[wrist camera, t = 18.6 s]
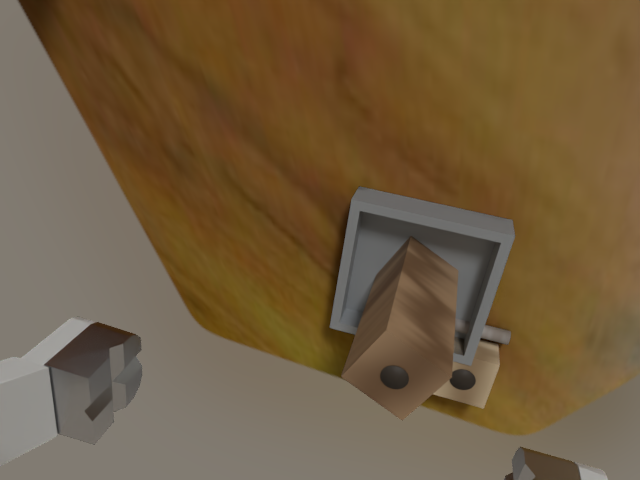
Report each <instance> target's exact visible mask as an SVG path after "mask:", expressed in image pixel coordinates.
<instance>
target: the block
mask: <svg viewBox="0 0 640 480" xmlns="http://www.w3.org/2000/svg"><path fill="white" fill-rule="evenodd" d="M457 286H458V270H457V269H456V268H454V267H453V266H452V265H450V264H449V263H448V262H446V261H445V260H444V259H442V258H441V257H439V256H438V255H437V254H435V253H434V252H433V251H431V250H430V249H429V248H427V247H426V246H425V245H423V244H422V243H420V242H419V241H418V240H416V239H415V238H414V237H412V236H410V237H409V238H408V239H407V241H406V242H405V243H404V244H403V245H402V246H401V247H400V249H399V250H398V251H397V252H396V253H395V254H394V255H393V256H392V258H391V259H390V260H389V261H388V262H387V263H386V264H385V265H384V267H383V268H382V269H381V270H380V271H379V272H378V273H377V275H376V277H375V280H374V283H373V286H372V288H371V291H370V294H369V297H368V300H367V303H366V306H365V309H364V311H363V314H362V317H361V320H360V323H359V326H358V329H357V332H356V334H355V337H354V340H353V343H352V346H351V349H350V352H349V355H348V358H347V360H346V363H345V366H344V369H343V372H342V375H341V377H342V378H344V379H345V380H346V381H348V382H349V383H351V384H352V385H353V386H355V387H356V388H358V389H359V390H360V391H362V392H363V393H365V394H366V395H367V396H369V397H370V398H372V399H373V400H374V401H376V402H377V403H379V404H380V405H381V406H383V407H384V408H385V409H387V410H388V411H390V412H391V413H393V414H394V415H395V416H397V417H398V418H399V419H401V420H403V419H404V418H406V417H407V416H408V415H409V414H410V413H411V412H413V411H414V410H415V409H416V408H417V407H418V406H420V405H421V404H422V403H423V402H424V401H425V400H427V399H428V398H429V397H430V396H431V395H432V394H433V393H435V392H436V391H437V390H438V389H439V388H440V387H442V386H443V385H444V384H445V383H446V382H447V381H449V380H450V379H451V378H452V368H453V352H454V335H455V319H456V302H457Z"/></svg>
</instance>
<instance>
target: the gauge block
mask: <svg viewBox="0 0 640 480" xmlns="http://www.w3.org/2000/svg"><path fill="white" fill-rule="evenodd" d="M469 326H470V322H468V321H464V320H460V319H455V331H456V332H460V333H464V334H467V333H468V331H469ZM510 337H511V331H507V330H504V329H500V328H496V327H492V326H488V325H485V326H484V329H483V332H482V335H481V338H483V339H487V340H491V341H495V342H499V343H503V344H506V345H508V344H509V341H510ZM455 339H456V340H457V341H455V340H454V343H455V342H456V343H457V345H456V346H457V348H458V349H460V348H459V347H458V346H459V345H460V344H459V345H458V342H459V343H460V342H461V341H462V339H460V338H459V339H460V341H459V339H458V337H456V338H455ZM463 340H464V339H463ZM464 341H465V340H464ZM456 343H455V344H456ZM462 343H463V344H464V342H463V341H462V342H461V344H462ZM456 346H455V345H454V353H455V352H456V353H457V350H458V349H457V348H456ZM460 346H461V345H460ZM462 346H463V345H462ZM462 346H461V348H462ZM455 348H456V349H455ZM460 350H461V349H460ZM460 350H459V351H460ZM462 350H464V349H463V348H462ZM459 351H458V352H459ZM460 353H461V351H460ZM457 354H459V353H457ZM463 354H464V353H463ZM463 354H460V355H463ZM499 366H500V361H499V345H498V344H496V343H492V342H488V341H484V340H480V341H479V344H478V347H477V350H476V353H475V356H474V359H473V362H472V365H471V366H469V365H465V364H461V363H458V362H454V361H453V368H452V378H451V379H450V380H449V381H447V382H446V383H445V384H444V385H443V386H442V387H440V388H439V389H438V390H437V391H436V392H435V393H433V394H434V395H437V396H441V397H444V398H448V399H451V400H455V401H459V402H462V403H466V404H469V405H473V406H476V407H480V408H483V409H484V406H485V404H486V401H487V398H488V396H489V393H490V390H491V388H492V385H493V382H494V379H495V377H496V374H497V371H498V369H499Z"/></svg>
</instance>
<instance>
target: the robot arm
mask: <svg viewBox="0 0 640 480" xmlns="http://www.w3.org/2000/svg"><path fill="white" fill-rule="evenodd" d="M140 351H141V338H140V337H139V336H138V335H136V334H133V333H130V332H127V331H124V330H121V329H118V328H114V327H111V326H108V325H105V324H102V323H99V322H94V321H91V320H88V319H85V318H82V317H79V316H77V317H73V318H70V319H69V320H68V321H66V322H65V323H64V324H63V325H62V326H60V327H59V328H58V329H57V330H55V331H54V332H53V333H52V334H50V335H49V336H48V337H47V338H45V339H44V340H43V341H42V342H40V343H39V344H38V345H37V346H35V347H34V348H33V349H32V350H30V351H29V352H28V353H27V354H26V355H24V356H23V357H22V358H17V357H11V358H8V359H5V360H1V361H0V466H2V465H3V464H6V463H7V462H9V461H11V460H13V459H15V458H17V457H19V456H21V455H23V454H24V453H26V452H28V451H30V450H32V449H34V448H36V447H38V446H40V445H42V444H44V443H45V442H47V441H49V440H51V439H53V438H55V437H57V436H58V434H60V435H64V436H67V437H70V438H74V439H77V440H80V441H83V442H87V443H90V444H93V445H95V443H96V442H97V441H98V440H99V439H100V438H101V436H102V435H103V434H104V433H105V432H106V430H107V429H108V428H109V427H110V426H111V424H112V423H113V422H114V412H116V411H118V410H120V409H123V408H125V407H126V406H127V405H128V404H129V403H130V402H131V400H132V399H133V398H134V396H135V394H136V392H137V390H138V388H139V386H140V382H141V377H142V365H141V363H140V362H139V360H138V359H137V357H136V355H137V354H138V353H139V352H140ZM512 466H513V473H511V474H508V475H506V476H505V478H504V480H608V479H607V476H606V474H605V472H604V471H603V470H602V469H598V468H595V467H591V466H588V465H584V464H581V463H577V462H572V461H569V460H565V459H562V458H558V457H555V456H551V455H548V454H544V453H541V452H537V451H534V450H530V449H526V448H523V447H520V448H518V450H517V451H516V453H515V455H514V457H513V459H512Z"/></svg>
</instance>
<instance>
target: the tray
mask: <svg viewBox="0 0 640 480" xmlns="http://www.w3.org/2000/svg"><path fill="white" fill-rule="evenodd" d="M410 236H412V237H414V238H415V239H416V240H418V241H419V242H420V243H422V244H423V245H425V246H426V247H427V248H429V249H430V250H431V251H433V252H434V253H435V254H437V255H438V256H439V257H441V258H442V259H444V260H445V261H446V262H448V263H449V264H450V265H452V266H453V267H454V268H456V269H457V270H458V286H457V302H456V319H460V320H464V321H468V322H470V326H469V331H468V333H467V334H464V333H460V332H456V331H455V335H454V340H455V341H457V340H456V339H455V338H456V337H458V339H459V338H460V339H462V341H463V342H464V344H463V343H462V344H461V342H462V341H461V342H460V343H459V342H458V345H459V344H460V345H461V346H462V345H463V346H462V348H463V349H464V350H462V348H461V346H460V345H459V346H458V347H459V348H460V349H461V350H460V349H458V348H457V346H456V345H457V343H456V342H455V343H456V344H455V343H454V345H455V346H456V348H457V349H458V350H457V353H459V354H457V353H456V352H455V353H454V352H453V361H454V362H458V363H461V364H465V365H469V366H471V365H472V362H473V359H474V356H475V353H476V350H477V347H478V344H479V341H480V338H481V335H482V332H483V329H484V326H485V323H486V320H487V317H488V315H489V312H490V309H491V306H492V303H493V300H494V297H495V294H496V291H497V288H498V285H499V282H500V279H501V276H502V273H503V270H504V267H505V264H506V261H507V258H508V255H509V253H510V250H511V247H512V244H513V241H514V238H515V232H514V226H513V220H510V219H505V218H501V217H496V216H492V215H487V214H482V213H478V212H473V211H469V210H464V209H460V208H455V207H451V206H446V205H441V204H437V203H432V202H428V201H423V200H419V199H414V198H410V197H405V196H401V195H396V194H391V193H387V192H382V191H378V190H373V189H369V188H364V187H360V186H359V188H358V189H357V191H356V193H355V194H354V196H353V198H352V200H351V206H350V211H349V217H348V223H347V229H346V235H345V241H344V246H343V252H342V258H341V264H340V270H339V276H338V281H337V287H336V293H335V299H334V305H333V311H332V316H331V322H330V328H332V329H336V330H339V331H343V332H347V333H350V334H354V335H355V334H356V332H357V329H358V326H359V323H360V320H361V317H362V314H363V311H364V309H365V306H366V303H367V300H368V297H369V294H370V291H371V288H372V286H373V283H374V280H375V277H376V275H377V273H378V272H379V271H380V270H381V269H382V268H383V267H384V265H385V264H386V263H387V262H388V261H389V260H390V259H391V258H392V256H393V255H394V254H395V253H396V252H397V251H398V250H399V249H400V247H401V246H402V245H403V244H404V243H405V242H406V241H407V239H408V238H409V237H410ZM460 339H459V341H460ZM463 339H464V340H465V341H464V340H463ZM456 348H455V349H456ZM459 350H460V351H461V353H460V351H459ZM458 351H459V352H458ZM463 353H464V354H463ZM460 354H463V355H460Z"/></svg>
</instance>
